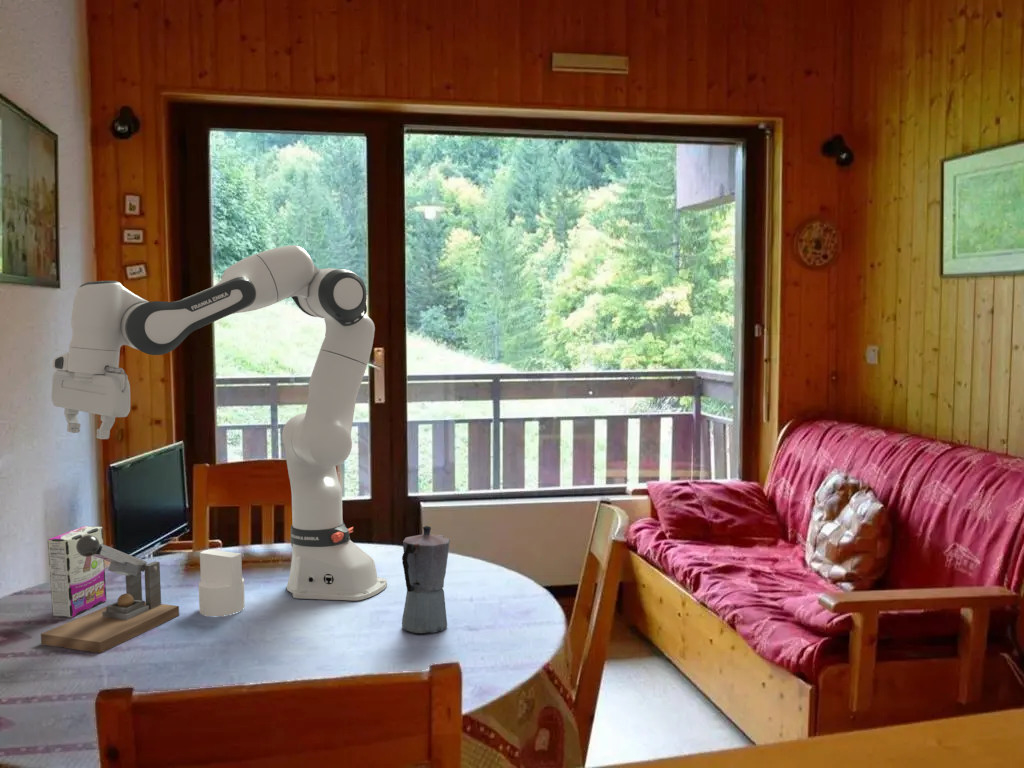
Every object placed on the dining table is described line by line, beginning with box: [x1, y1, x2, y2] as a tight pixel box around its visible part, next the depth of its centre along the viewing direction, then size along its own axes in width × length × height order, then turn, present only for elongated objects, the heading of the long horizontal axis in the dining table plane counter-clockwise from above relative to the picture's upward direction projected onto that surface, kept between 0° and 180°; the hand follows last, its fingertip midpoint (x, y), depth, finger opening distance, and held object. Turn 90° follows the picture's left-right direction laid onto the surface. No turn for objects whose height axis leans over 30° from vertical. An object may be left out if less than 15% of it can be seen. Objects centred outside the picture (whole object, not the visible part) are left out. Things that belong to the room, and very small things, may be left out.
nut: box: [116, 593, 134, 608], centre depth 174 cm, size 3×3×3 cm
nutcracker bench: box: [40, 561, 180, 654], centre depth 171 cm, size 14×21×11 cm, turn 161°
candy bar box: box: [47, 525, 107, 618], centre depth 183 cm, size 11×5×16 cm, turn 168°
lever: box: [76, 535, 148, 577], centre depth 170 cm, size 4×17×4 cm, turn 161°
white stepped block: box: [198, 548, 246, 617], centre depth 182 cm, size 9×9×12 cm
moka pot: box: [401, 525, 451, 634], centre depth 170 cm, size 10×15×20 cm, turn 161°
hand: (87, 435), depth 168 cm, fingers open, 8 cm apart
